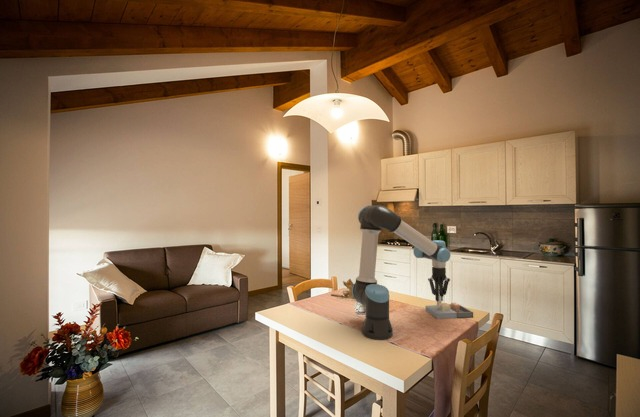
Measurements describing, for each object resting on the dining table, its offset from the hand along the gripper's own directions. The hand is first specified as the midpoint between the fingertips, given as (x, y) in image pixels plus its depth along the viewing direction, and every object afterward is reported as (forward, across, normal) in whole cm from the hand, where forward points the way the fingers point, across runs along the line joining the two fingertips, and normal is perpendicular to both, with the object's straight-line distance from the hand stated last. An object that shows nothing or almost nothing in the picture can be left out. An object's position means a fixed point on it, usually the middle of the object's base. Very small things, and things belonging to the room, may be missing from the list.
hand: (439, 306), depth 178 cm
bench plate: (+5, -1, 0) cm, 5 cm away
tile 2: (+1, -9, 0) cm, 9 cm away
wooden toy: (+5, +48, -41) cm, 63 cm away
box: (+4, -12, 0) cm, 13 cm away
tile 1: (+1, -3, 0) cm, 3 cm away
